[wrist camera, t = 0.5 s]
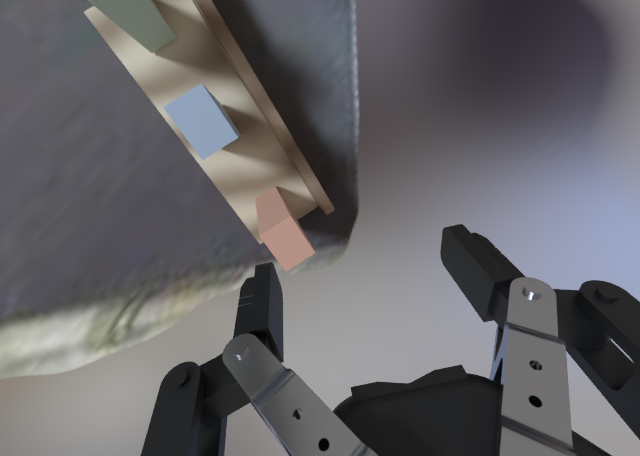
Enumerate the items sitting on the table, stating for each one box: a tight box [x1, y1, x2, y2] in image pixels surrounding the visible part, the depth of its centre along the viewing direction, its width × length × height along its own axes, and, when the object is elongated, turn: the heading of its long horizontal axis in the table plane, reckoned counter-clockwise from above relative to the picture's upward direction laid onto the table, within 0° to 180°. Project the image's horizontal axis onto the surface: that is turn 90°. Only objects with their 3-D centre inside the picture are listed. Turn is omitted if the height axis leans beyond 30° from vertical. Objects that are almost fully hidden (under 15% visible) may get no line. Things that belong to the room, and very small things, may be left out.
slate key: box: [163, 83, 242, 160], centre depth 26 cm, size 4×3×14 cm
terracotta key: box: [255, 186, 315, 272], centre depth 30 cm, size 4×3×14 cm
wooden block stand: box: [84, 0, 335, 244], centre depth 31 cm, size 29×10×6 cm, turn 31°
